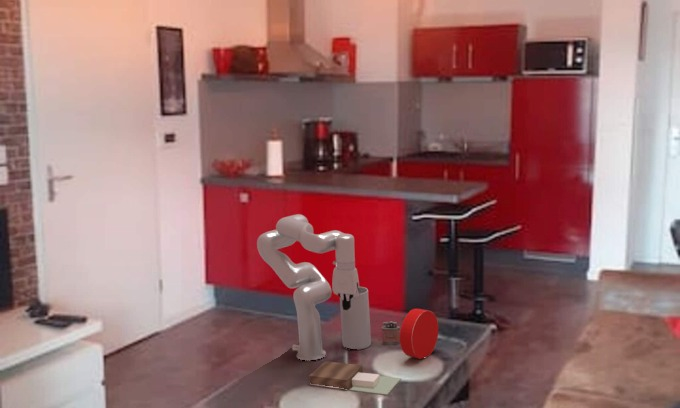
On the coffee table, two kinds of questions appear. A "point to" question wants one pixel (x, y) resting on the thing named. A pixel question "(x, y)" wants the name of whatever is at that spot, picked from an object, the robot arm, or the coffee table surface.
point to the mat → (379, 386)
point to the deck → (335, 374)
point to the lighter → (391, 333)
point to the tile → (365, 380)
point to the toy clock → (419, 333)
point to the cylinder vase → (356, 322)
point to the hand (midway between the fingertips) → (346, 309)
